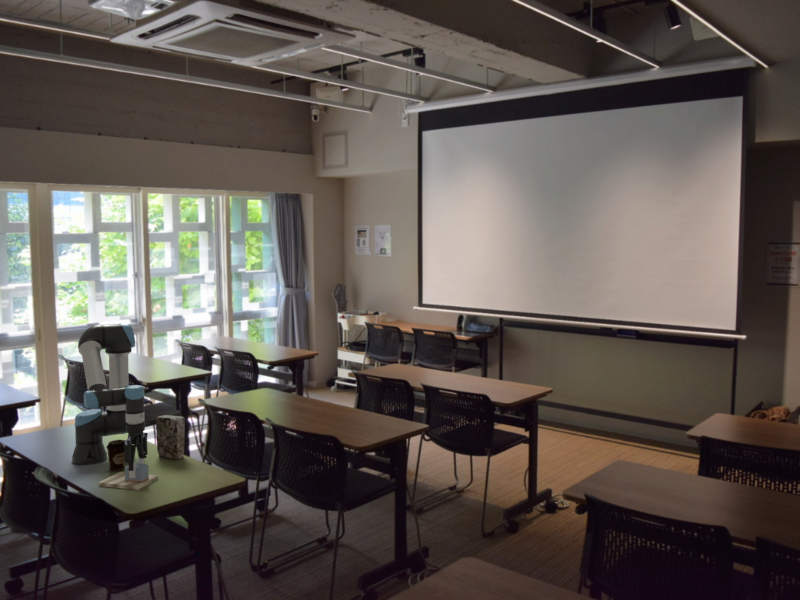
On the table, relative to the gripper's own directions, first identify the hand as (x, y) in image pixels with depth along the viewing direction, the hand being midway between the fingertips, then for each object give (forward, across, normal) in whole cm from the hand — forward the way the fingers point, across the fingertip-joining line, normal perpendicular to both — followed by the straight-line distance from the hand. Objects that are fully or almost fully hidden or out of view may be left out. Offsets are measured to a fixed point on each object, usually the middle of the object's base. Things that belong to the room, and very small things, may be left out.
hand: (136, 475), depth 287 cm
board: (+3, 0, +4) cm, 5 cm away
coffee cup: (+4, +13, +20) cm, 24 cm away
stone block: (+4, +35, +7) cm, 36 cm away
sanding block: (+2, 0, 0) cm, 2 cm away
